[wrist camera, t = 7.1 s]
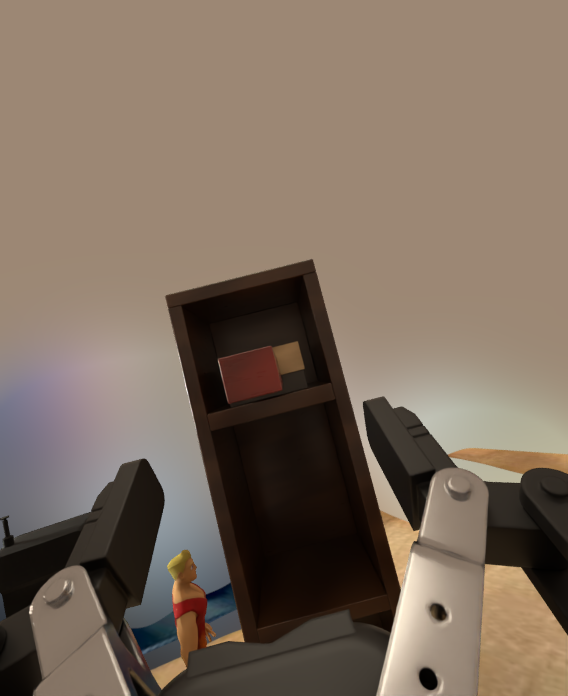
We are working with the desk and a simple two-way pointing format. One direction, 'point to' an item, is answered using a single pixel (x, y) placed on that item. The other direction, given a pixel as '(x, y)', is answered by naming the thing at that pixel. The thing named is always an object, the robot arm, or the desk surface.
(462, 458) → the desk surface
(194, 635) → the action figure
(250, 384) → the brush
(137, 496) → the robot arm
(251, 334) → the shelf
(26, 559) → the portable radio
